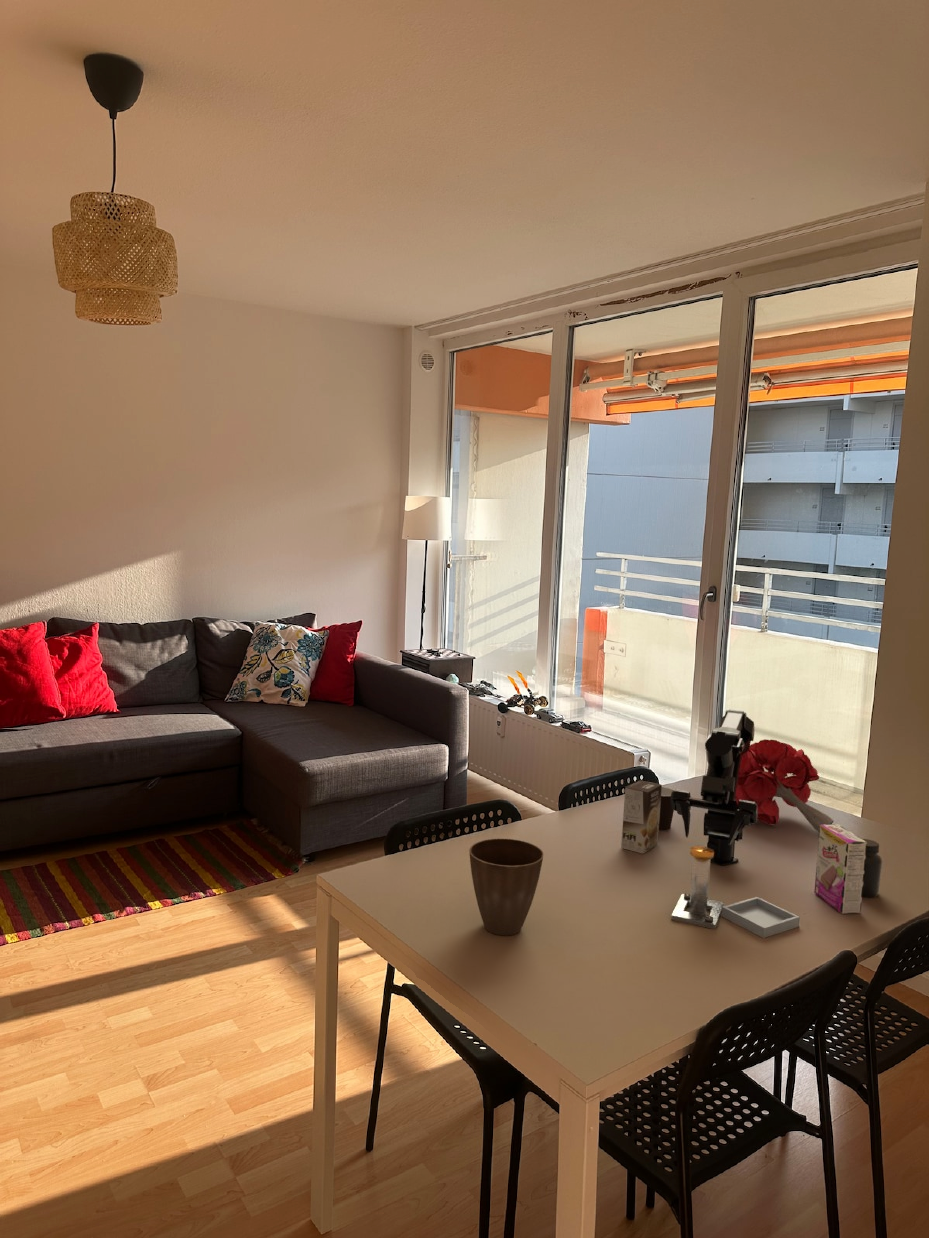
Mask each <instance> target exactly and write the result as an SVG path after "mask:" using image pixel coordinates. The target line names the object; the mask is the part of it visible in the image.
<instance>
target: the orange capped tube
mask: <svg viewBox="0 0 929 1238" xmlns="http://www.w3.org/2000/svg"><path fill="white" fill-rule="evenodd" d="M690 856H692V864H691V865H692V867H691V868H692V869H691V879H690V880H691V882H690V893H689V894H690V906H688V907H689V909H688V912H691V913H695V914H700V915H705V916H707V912H708V910H707V900H708V899H709V897H708V896H709V884H710V871H711V861H710V860H711V858H713V857H714V851H713V850H712V849H710V848H708V847H707V846H702V845H701V846H700V845H695V846H691V847H690Z"/></svg>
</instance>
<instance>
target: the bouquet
mask: <svg viewBox="0 0 929 1238" xmlns="http://www.w3.org/2000/svg"><path fill="white" fill-rule="evenodd" d="M765 770H766V771H765ZM788 774H790V776H788ZM819 779H820V776H819V772H818V770H817V768H816V767H815V768H814V766H813V765H812V762H811V759H810V758H809V756H808V755H807V754H805V751H804V750H803V749H796V748H795V747H793V746H792V744H791V745H790V744H789V743H785V742H781V741H779V740H776V739H766V738H765V739H760V740H759V741H758V742H756V741H755V742H753V743H752V744H751V743H750V748H749V750H748V751H747V752H746V753H745V754H743V755H742V758H741V764H740V771H739V777H738V783H737V789H736V795H735V801H736V802H737V805H738V802H739V799H740V800H746V801H752V802H755V803H756V804H757V808H758V817H757V821H760V822H762V823H765V824H767V825H769V826H775V825H777V824H778V823H779V819H780V808H779V805H778V804H777V800H776V799H774V797H776V798H781V799H782V801H783V802H784V803H785V804H786V805H787V806H789V807H793V808H797V809H798V810H799V812H800V813H801V814H802V815H803V816H804V818H805V819H806V821H807V822H808V823H809V824H810V825H811V827H812V828H814V830H815V831H817V833H819V830H820V825H823V824H826V825H827V824H833V823H834V822H835V820H834V819H833V818H831V817H830V816H829V815H828V814H826V813H824V812H823V811H820V810H819V809H816V808H814V807H813V806H811V805H809V804H807V803H808V801H809V798H810V797H811V793H812V791H811V790H812V789H811V787H810V785H809V783H810V782H815V781H818V780H819Z"/></svg>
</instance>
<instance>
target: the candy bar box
mask: <svg viewBox="0 0 929 1238" xmlns="http://www.w3.org/2000/svg"><path fill="white" fill-rule="evenodd" d="M862 839H863V838H861V837H859V836H858V835H856V834H855V833H852V832H851V831H850V830H848V829H846V828H845V827H844V826H842V825H840V824H839V823H837V824H836V823H834V824H833V823H832V824H827V825H826V824H823V825H820V830H819V832H818V842H817V843H818V844H817V856H816V870H815V879H814V880H815V881H814V890H813V892H814V894H815V895H816V896H818V897H820V898H821V900H823V901H824V902H826V903H827V904H828V905H830V906H831V907H832V908H834V909H835V910H836V911H837V912H839V913H840V914H841V915H852V914H861V911H862V901H863V897H862V891H863V881H864V870H865V858H866V848H867V842H866V841H864V840H862Z"/></svg>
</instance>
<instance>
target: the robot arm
mask: <svg viewBox="0 0 929 1238" xmlns="http://www.w3.org/2000/svg"><path fill="white" fill-rule="evenodd" d="M754 738H755V722H754V721H753V720H752V719H751V718H749V717H748V716H747V712H746V711H745V712H744V711H742V710H736V709H726V710H725V713H724V715H723V716H722V717H721V718H720V722H719V727H715V728H713V730H712V732H711V733H709V734H708V736H707V738H706V740H705V742H704V746H705V748H704V749H705V752H706V753H705V754H706V762H707V769H706V770H707V771H706V774H705V775H702V781H701V786H700V788H701V789H700V796H701V798H695V797H691V791H689V790H682V789H677V788H676V789H675V788H674V791H672V793H671V798H670V799H671V805H672V809H673V810H674V812H676V813H677V815H679V816H681V817H682V820H683V826H684V827H683V828H684V834H685V838H688V837H689V834H690V826H691V825H690V824H691V815H692V814H691V808H692V807H693V808H699V809H706V810H705V812H704V816H703V836H707V843H706V847H708V848H710V849H712V850H713V851H714V857H713V858H711V860H710V862H712V863H714V864H716V865H719V866H721V867H722V866H727V865H730V864H733V863H738V862H739V860H740V859H739V858H737V857H735V846H736V845H735V844H736V842H739V841H740V840H743V835H744V828H746V827H749V826H751V824H752V825H756V824H757V822H758V819H757V817H758V808H757V804H756V803H755V802H752V801H746V800H740V799H739V802H738V805H737V802H736V801H735V795H736V789H737V783H738V777H739V771H740V764H741V758H742V755H743V754H745V753H746V752H747V751H748V750H749V748H750V745H751V742H754Z"/></svg>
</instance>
